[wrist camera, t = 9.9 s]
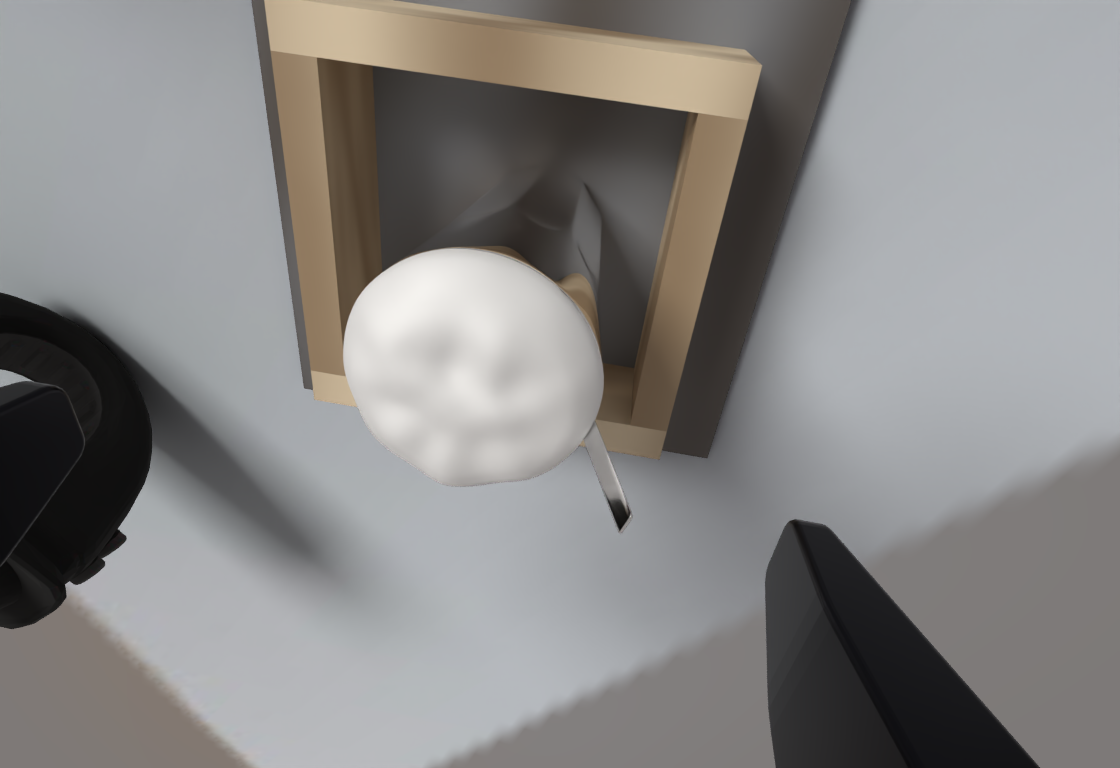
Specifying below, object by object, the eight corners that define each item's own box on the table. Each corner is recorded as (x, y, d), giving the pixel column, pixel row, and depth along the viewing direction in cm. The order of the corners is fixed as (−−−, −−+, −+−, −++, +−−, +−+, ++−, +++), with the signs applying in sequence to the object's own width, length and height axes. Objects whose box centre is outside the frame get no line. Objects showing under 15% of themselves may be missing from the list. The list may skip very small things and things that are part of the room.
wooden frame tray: (859, -42, 14) (910, -46, 11) (706, 450, 22) (713, 522, 19) (244, -123, 15) (144, -146, 12) (309, 382, 22) (258, 441, 19)
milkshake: (608, 334, 19) (567, 609, 11) (443, 259, 19) (267, 490, 10) (683, 198, 17) (703, 421, 8) (496, 107, 16) (320, 251, 8)
